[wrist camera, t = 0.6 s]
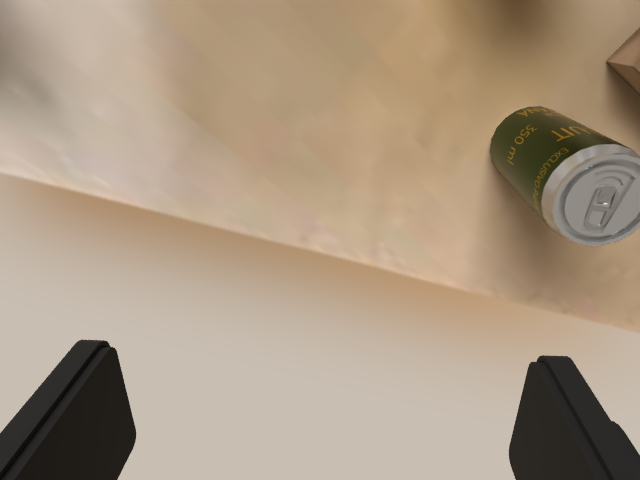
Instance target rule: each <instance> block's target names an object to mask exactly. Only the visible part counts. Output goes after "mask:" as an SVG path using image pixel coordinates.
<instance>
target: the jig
mask: <svg viewBox="0 0 640 480" xmlns="http://www.w3.org/2000/svg"><path fill="white" fill-rule="evenodd" d="M607 62H608V63H609V64H610V65H611V66H612V67H613V68H614V69H615V70H616V71H617V72H618V73H619V74H620V75H621V76H622V77H623V78H624V79H625V80H626V81H627V82H628V83H629V84H630V85H631V86H632V87H633V88H634V89H635V90H636V91H637V92H638V93H639V94H640V28H639V29H638V30H637V31H636V32H635V33H634V34H633V35H632V36H631V37H630V38H629V39H628V40H627V41H626V42H625V43H624V44H623V45H622V46H621V47H620V48H619V49H618V50H617V51H616V52H615V53H614V54H613V55H612V56H611V57H610V58H609V59H608V60H607Z"/></svg>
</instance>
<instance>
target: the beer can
mask: <svg viewBox="0 0 640 480" xmlns="http://www.w3.org/2000/svg"><path fill="white" fill-rule="evenodd" d="M490 154H491V159H492V162H493V164H494V165H495V167H496V169H497V170H498V171H499V173H500V174H501V175H502V176H503V177H504V178H505V179H506V180H507V181H508V182H509V183H510V185H511V186H512V187H513V188H514V189H515V190H516V191H517V192H518V193H519V194H520V196H521V197H522V198H523V199H524V200H525V201H526V202H527V203H528V204H529V205H530V207H531V208H532V209H533V210H534V211H535V212H536V213H537V214H538V215H539V216H540V217H541V219H542V220H543V221H544V222H545V223H546V224H547V225H548V226H549V227H550V228H551V229H552V230H553V231H555V232H556V233H557V234H559V235H560V236H561V237H564V238H567V239H570V240H571V241H572V242H575V243H578V244H582V245H585V246H603V245H607V244H611V243H614V242H618V241H620V240H622V239H623V238H625V237H627V236H629V235H631V234H632V233H634V232H635V231H636V230H637V229H638V228H639V227H640V155H638V154H637V153H636V152H635V151H633V150H632V149H630V148H628V147H626V146H624V145H622V144H620V143H618V142H616V141H614V140H612V139H610V138H608V137H606V136H604V135H602V134H600V133H598V132H596V131H594V130H592V129H590V128H588V127H586V126H584V125H582V124H580V123H578V122H576V121H574V120H572V119H570V118H568V117H566V116H563V115H561V114H559V113H557V112H555V111H553V110H551V109H547V108H544V107H527V108H523V109H520V110H517V111H515V112H514V113H512V114H511V115H509V116H508V117H506V118H505V119H504V120H503V121H502V123H501V124H500V125H499V126H498V127H497V128H496V131H495V133H494V135H493V137H492V139H491V147H490Z"/></svg>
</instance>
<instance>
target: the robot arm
mask: <svg viewBox="0 0 640 480" xmlns="http://www.w3.org/2000/svg"><path fill="white" fill-rule="evenodd" d="M135 439H136V429H135V425H134V421H133V417H132V413H131V409H130V405H129V400H128V396H127V392H126V388H125V384H124V379H123V375H122V372H121V367H120V363H119V359H118V355H117V351H116V349H115V348H113V347H110V345H109V343H108V342H107V341H100V340H99V341H98V340H80V341H78V342H77V343H76V344H75V345H74V346H73V347H72V348H71V350H70V351H69V352H68V353H67V354H66V356H65V357H64V358H63V359H62V360H61V362H60V363H59V364H58V365H57V366H56V368H55V369H54V370H53V371H52V372H51V374H50V375H49V376H48V377H47V378H46V380H45V381H44V382H43V383H42V384H41V386H40V387H39V388H38V389H37V390H36V391H35V393H34V394H33V395H32V396H31V397H30V399H29V400H28V401H27V402H26V403H25V405H24V406H23V407H22V408H21V409H20V410H19V412H18V413H17V414H16V415H15V416H14V418H13V419H12V420H11V421H10V423H9V424H8V425H7V426H6V427H5V428H4V430H3V431H2V432H1V433H0V480H117V479H118V477H119V475H120V473H121V471H122V469H123V467H124V465H125V463H126V461H127V459H128V457H129V455H130V453H131V451H132V449H133V446H134V443H135ZM509 459H510V464H511V467H512V470H513V473H514V476H515V479H516V480H640V455H639V454H638V452H637V451H636V449H635V447H634V446H633V445H632V443H631V441H630V440H629V438H628V437H627V435H626V434H625V432H624V431H623V430H622V429H621V427H620V426H619V425H618V424H616V423H615V422H613V421H611V420H610V419H609V417H608V415H607V414H606V412H605V411H604V409H603V408H602V406H601V405H600V403H599V401H598V400H597V398H596V397H595V395H594V394H593V392H592V390H591V389H590V387H589V386H588V384H587V383H586V381H585V380H584V378H583V376H582V375H581V374H580V372H579V370H578V369H577V367H576V365H575V364H574V362H573V361H572V360H571V358H569V357H567V356H540V357H539V358H538V359H537V362H531V363H530V364H529V367H528V371H527V375H526V380H525V384H524V388H523V392H522V396H521V401H520V405H519V409H518V413H517V417H516V421H515V426H514V430H513V434H512V439H511V442H510V447H509Z"/></svg>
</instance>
